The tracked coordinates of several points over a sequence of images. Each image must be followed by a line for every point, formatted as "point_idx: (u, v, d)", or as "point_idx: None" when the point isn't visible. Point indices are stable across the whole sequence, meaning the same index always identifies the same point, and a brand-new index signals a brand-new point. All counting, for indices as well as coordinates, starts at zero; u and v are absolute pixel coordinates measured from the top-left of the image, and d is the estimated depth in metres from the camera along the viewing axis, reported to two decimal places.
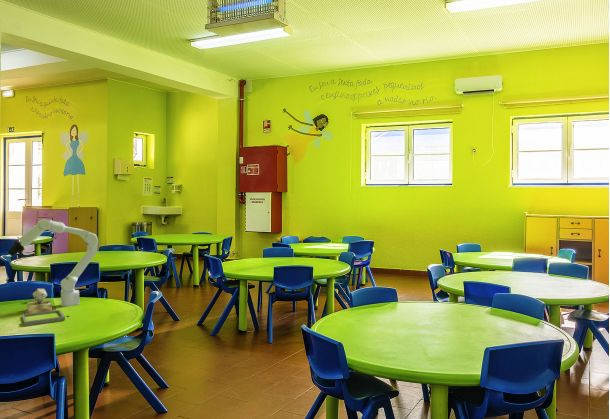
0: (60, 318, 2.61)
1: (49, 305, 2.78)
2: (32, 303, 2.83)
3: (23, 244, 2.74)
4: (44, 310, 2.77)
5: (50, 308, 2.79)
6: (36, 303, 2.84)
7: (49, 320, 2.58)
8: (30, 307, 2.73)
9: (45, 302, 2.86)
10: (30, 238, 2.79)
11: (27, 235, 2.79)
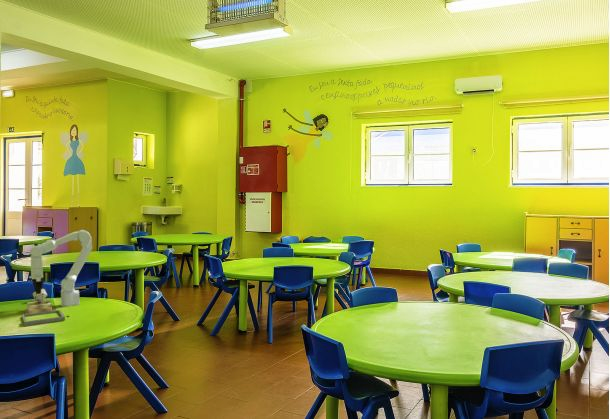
0: (60, 318, 2.61)
1: (49, 305, 2.78)
2: (32, 303, 2.83)
3: (38, 279, 2.79)
4: (44, 310, 2.77)
5: (50, 308, 2.79)
6: (36, 303, 2.84)
7: (49, 320, 2.58)
8: (30, 307, 2.73)
9: (45, 302, 2.86)
10: (38, 270, 2.82)
11: (34, 270, 2.82)
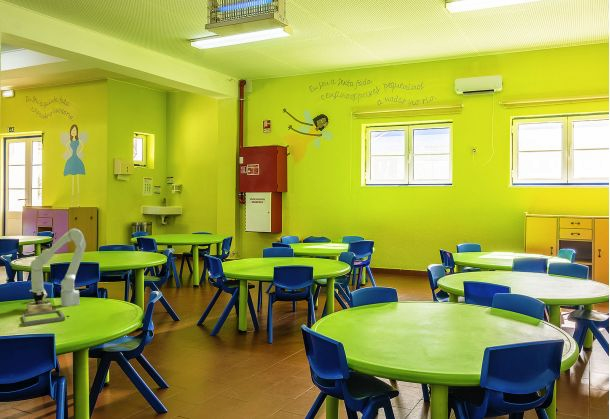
0: (60, 318, 2.61)
1: (49, 305, 2.78)
2: (32, 303, 2.83)
3: (39, 293, 2.79)
4: (44, 310, 2.77)
5: (50, 308, 2.79)
6: None
7: (49, 320, 2.58)
8: (30, 307, 2.73)
9: (45, 302, 2.86)
10: (39, 283, 2.83)
11: (34, 283, 2.82)
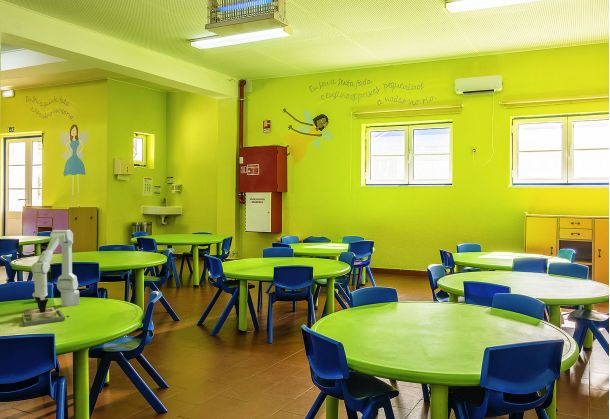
0: (60, 318, 2.61)
1: (53, 313, 2.62)
2: (35, 311, 2.66)
3: (43, 298, 2.62)
4: (48, 318, 2.61)
5: (55, 316, 2.62)
6: None
7: (49, 320, 2.58)
8: (33, 315, 2.57)
9: (49, 310, 2.70)
10: (42, 287, 2.66)
11: (38, 288, 2.65)
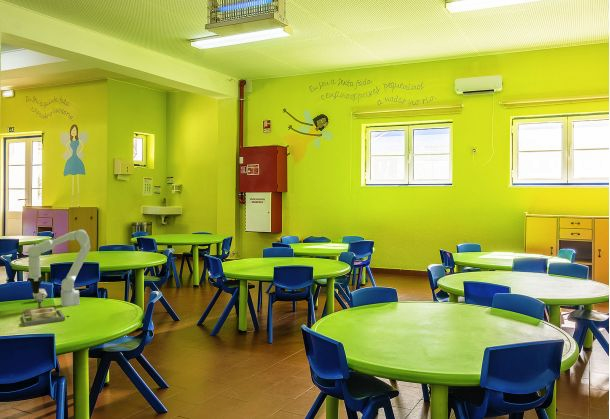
0: (60, 318, 2.61)
1: (53, 313, 2.62)
2: (35, 311, 2.66)
3: (36, 279, 2.79)
4: (48, 318, 2.61)
5: (55, 316, 2.62)
6: (40, 311, 2.67)
7: (49, 320, 2.58)
8: (33, 315, 2.57)
9: (49, 310, 2.70)
10: (36, 269, 2.83)
11: (31, 270, 2.82)
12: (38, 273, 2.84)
